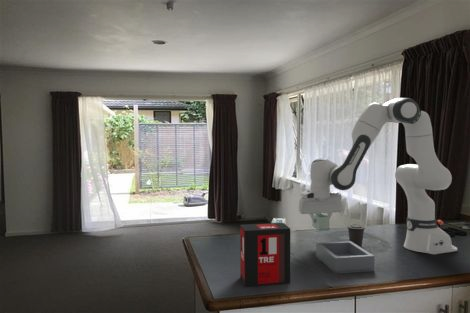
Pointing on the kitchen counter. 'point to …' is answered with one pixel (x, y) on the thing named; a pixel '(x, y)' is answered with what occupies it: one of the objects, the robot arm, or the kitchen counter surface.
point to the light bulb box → (279, 220)
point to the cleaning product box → (264, 254)
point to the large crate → (344, 257)
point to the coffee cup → (356, 234)
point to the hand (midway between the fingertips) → (320, 222)
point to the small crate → (321, 221)
